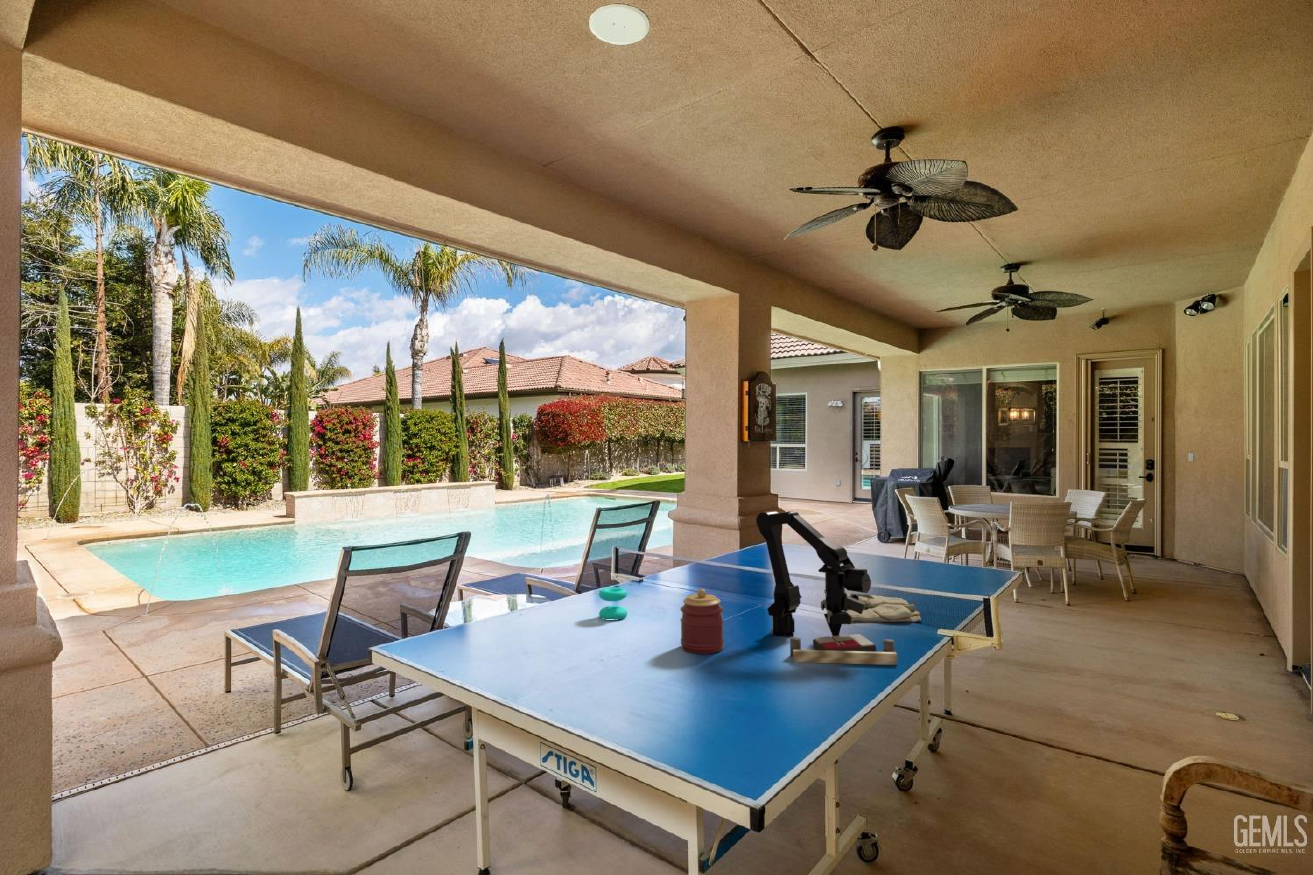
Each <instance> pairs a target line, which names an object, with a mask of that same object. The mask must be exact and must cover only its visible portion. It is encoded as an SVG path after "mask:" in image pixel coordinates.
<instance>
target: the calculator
mask: <svg viewBox="0 0 1313 875" xmlns="http://www.w3.org/2000/svg"><path fill="white" fill-rule="evenodd" d="M812 645H813V646H812V647H813V650H829V651H870V652H877V645H876V644H875V643H874V642H872V641H870V640H869V639H868V638H866V637H865V636H864V635H863V634H860V633H855V634H839V635H838V636H832V635H831V636H830V635H829V636H820V637H819V636H818V637H814V639H812Z"/></svg>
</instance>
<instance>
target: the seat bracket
mask: <svg viewBox="0 0 1313 875" xmlns="http://www.w3.org/2000/svg"><path fill="white" fill-rule="evenodd" d="M789 640H790V641H789V644H790V645H789V651H790V652H789V653H790V654H789V655H790V657H791V658H792V660H793V663H811V664H813V663H815V664H817V663H818V664H821V663H822V664H849V665H850V664H851V665H853V664H854V665H855V664H857V665H859V664H860V665H891V666H894V665H895V666H898V653H897V652H896V650H895V648H896V646H895V640H894V639H891V638H889V639H888V638H887V639H886V638H884V639H883V640H882V648H883V649H882V651H876V652H870V651H829V650H815V649H802V645H801V644H802V642H801V641H802V638H800V637H798V636H790V638H789Z"/></svg>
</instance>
